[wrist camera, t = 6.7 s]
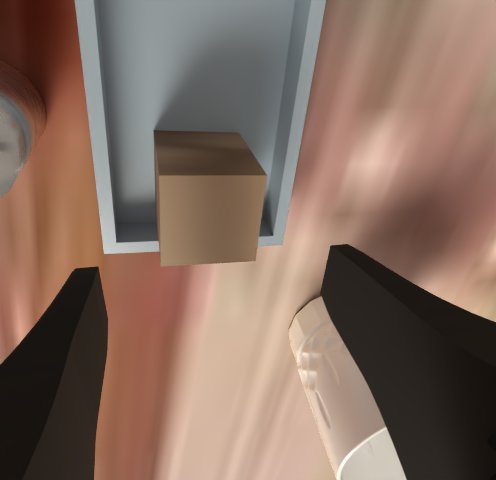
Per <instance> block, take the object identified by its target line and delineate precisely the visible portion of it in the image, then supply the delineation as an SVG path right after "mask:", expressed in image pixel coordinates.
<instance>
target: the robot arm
mask: <svg viewBox="0 0 496 480" xmlns="http://www.w3.org/2000/svg"><path fill="white" fill-rule="evenodd" d="M320 294H321V296H322V299H323V302H324V304H325V307H326V309H327V312H328V314H329V317H330V319H331V321H332V323H333V325H334V326H335V328H336V330H337V332H338V333H339V335H340V337H341V339H342V341H343V342H344V344H345V346H346V347H347V349H348V351H349V353H350V354H351V356H352V358H353V360H354V361H355V363H356V365H357V366H358V368H359V370H360V372H361V373H362V375H363V377H364V379H365V381H366V383H367V385H368V387H369V389H370V391H371V393H372V395H373V398H374V400H375V402H376V404H377V407H378V409H379V411H380V413H381V416H382V418H383V420H384V423H385V425H386V428H387V430H388V433H389V435H390V437H391V440H392V442H393V445H394V447H395V450H396V453H397V455H398V458H399V461H400V463H401V466H402V469H403V471H404V474H405V477H406V479H407V480H496V322H493V321H491V320H488V319H486V318H483V317H481V316H478V315H476V314H473V313H471V312H469V311H466V310H464V309H462V308H460V307H458V306H456V305H454V304H451V303H449V302H447V301H445V300H443V299H441V298H439V297H437V296H435V295H433V294H431V293H430V292H428V291H426V290H424V289H422V288H420V287H419V286H417V285H415V284H413V283H412V282H410V281H408V280H406V279H405V278H403V277H401V276H400V275H398V274H396V273H395V272H393V271H391V270H390V269H388V268H387V267H385V266H383V265H382V264H380V263H379V262H377V261H375V260H374V259H372V258H371V257H369V256H367V255H366V254H364V253H363V252H361V251H359V250H357V249H356V248H354V247H352V246H350V245H348V244H344V245H332V246H330V251H329V256H328V260H327V265H326V270H325V274H324V279H323V284H322V288H321V293H320ZM107 343H108V317H107V311H106V306H105V301H104V295H103V290H102V284H101V279H100V273H99V268H98V267H88V268H77V269H75V270H74V271H73V272H72V273H71V275H70V276H69V278H68V279H67V281H66V282H65V284H64V286H63V287H62V289H61V290H60V292H59V293H58V294H57V296H56V297H55V299H54V300H53V302H52V303H51V304H50V306H49V307H48V308H47V310H46V311H45V312H44V314H43V315H42V317H41V318H40V319H39V321H38V322H37V323H36V324H35V326H34V327H33V328H32V329H31V330H30V332H29V333H28V334H27V335H26V336H25V338H24V339H23V340H22V341H21V342H20V344H19V345H18V346H17V347H16V348H15V349H14V351H13V352H12V353H11V354H10V355H9V356H8V357H7V358H6V359H5V360H4V361H3V362H2V364H1V365H0V480H94V465H95V441H96V429H97V420H98V413H99V406H100V399H101V392H102V385H103V378H104V371H105V364H106V357H107Z"/></svg>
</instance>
